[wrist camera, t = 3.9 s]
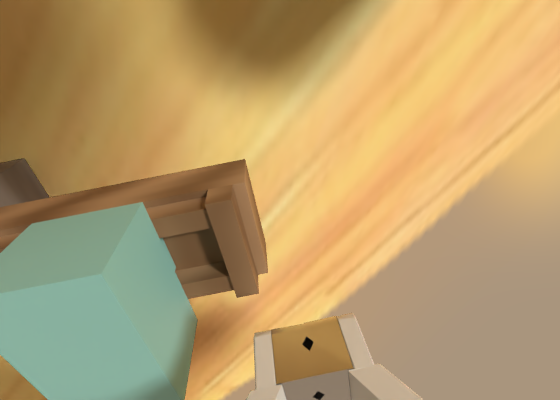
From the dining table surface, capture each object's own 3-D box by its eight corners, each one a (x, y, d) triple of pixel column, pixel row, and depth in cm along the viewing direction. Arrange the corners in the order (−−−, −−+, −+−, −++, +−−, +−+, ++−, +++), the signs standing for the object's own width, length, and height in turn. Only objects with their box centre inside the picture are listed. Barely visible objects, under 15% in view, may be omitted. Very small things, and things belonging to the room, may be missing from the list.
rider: (151, 185, 12) (101, 274, 8) (201, 297, 15) (183, 403, 11) (51, 204, 12) (-54, 303, 8) (121, 313, 15) (74, 424, 11)
